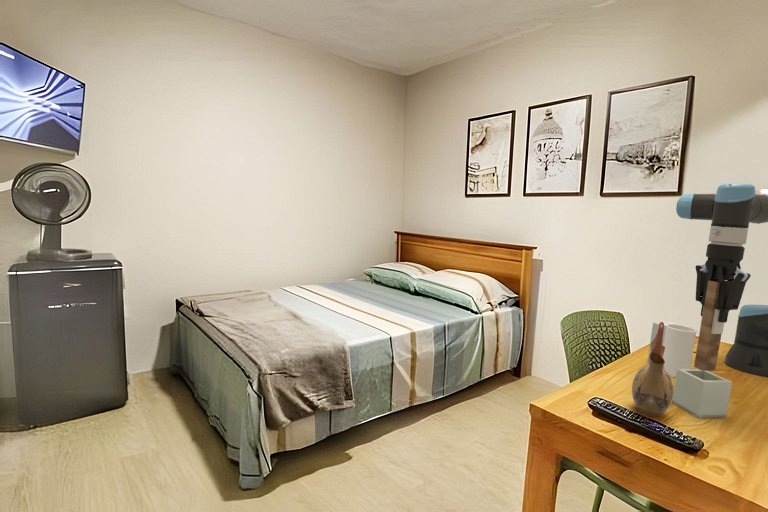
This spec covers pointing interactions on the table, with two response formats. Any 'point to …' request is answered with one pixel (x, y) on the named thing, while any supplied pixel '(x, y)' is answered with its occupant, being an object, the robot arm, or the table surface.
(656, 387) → the ceramic vessel
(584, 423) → the table surface
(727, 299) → the robot arm
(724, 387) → the white square tube
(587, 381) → the table surface
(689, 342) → the cup
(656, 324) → the skincare box
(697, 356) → the brown wooden plank
